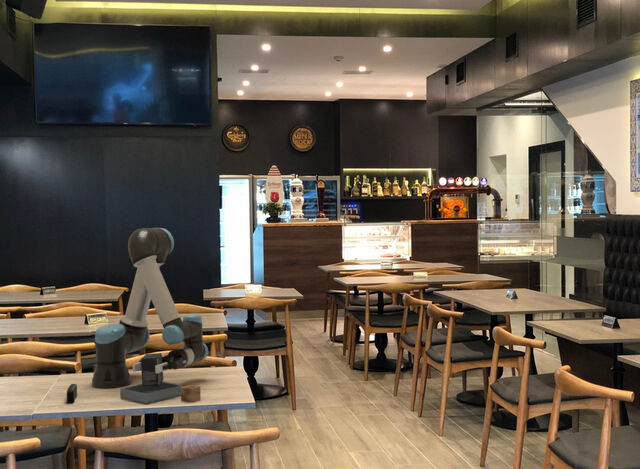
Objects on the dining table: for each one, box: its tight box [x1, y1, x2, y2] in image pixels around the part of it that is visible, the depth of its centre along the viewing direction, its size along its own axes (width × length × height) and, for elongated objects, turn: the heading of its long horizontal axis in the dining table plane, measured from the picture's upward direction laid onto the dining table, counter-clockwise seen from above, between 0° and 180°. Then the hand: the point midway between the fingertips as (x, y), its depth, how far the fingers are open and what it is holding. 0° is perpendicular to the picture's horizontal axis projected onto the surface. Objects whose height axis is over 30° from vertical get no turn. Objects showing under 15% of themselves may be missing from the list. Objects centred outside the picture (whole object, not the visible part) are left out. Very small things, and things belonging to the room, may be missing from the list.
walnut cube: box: [180, 384, 202, 403], centre depth 279 cm, size 5×5×5 cm
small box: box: [140, 352, 164, 386], centre depth 285 cm, size 11×6×10 cm, turn 2°
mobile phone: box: [66, 383, 78, 404], centre depth 284 cm, size 5×3×15 cm
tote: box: [119, 381, 184, 405], centre depth 285 cm, size 15×17×4 cm
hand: (144, 368), depth 281 cm, fingers closed on small box, 9 cm apart
